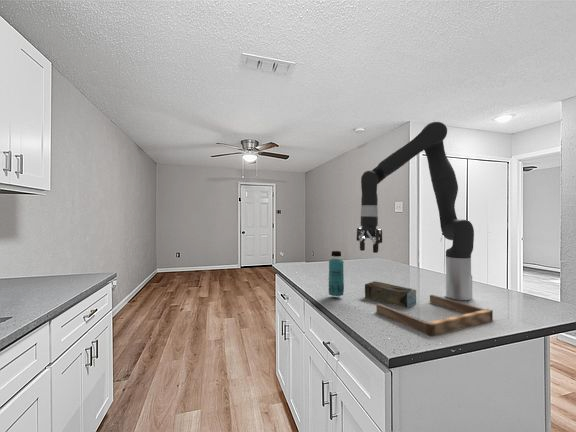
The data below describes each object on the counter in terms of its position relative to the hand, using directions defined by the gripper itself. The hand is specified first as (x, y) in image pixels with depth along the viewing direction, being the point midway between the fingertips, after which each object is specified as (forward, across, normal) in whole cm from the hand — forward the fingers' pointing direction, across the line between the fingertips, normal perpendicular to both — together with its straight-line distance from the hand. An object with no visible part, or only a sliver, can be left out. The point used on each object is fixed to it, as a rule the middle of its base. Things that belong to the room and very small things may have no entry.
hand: (368, 251), depth 127 cm
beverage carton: (+19, -13, 0) cm, 23 cm away
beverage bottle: (+19, +1, +17) cm, 26 cm away
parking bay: (+19, -33, 0) cm, 38 cm away
